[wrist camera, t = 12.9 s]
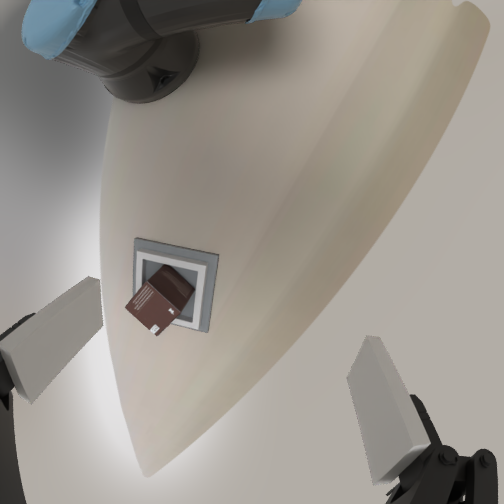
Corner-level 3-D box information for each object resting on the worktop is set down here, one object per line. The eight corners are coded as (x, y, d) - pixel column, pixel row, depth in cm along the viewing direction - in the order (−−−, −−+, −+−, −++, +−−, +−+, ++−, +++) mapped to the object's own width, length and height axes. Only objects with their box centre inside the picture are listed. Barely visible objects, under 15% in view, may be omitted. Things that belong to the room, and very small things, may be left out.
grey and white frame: (136, 237, 40) (129, 241, 38) (219, 254, 40) (216, 259, 38) (134, 311, 44) (129, 317, 42) (208, 330, 44) (205, 338, 42)
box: (167, 260, 40) (146, 279, 33) (197, 288, 41) (182, 312, 34) (144, 286, 42) (123, 307, 35) (173, 312, 42) (156, 337, 35)
